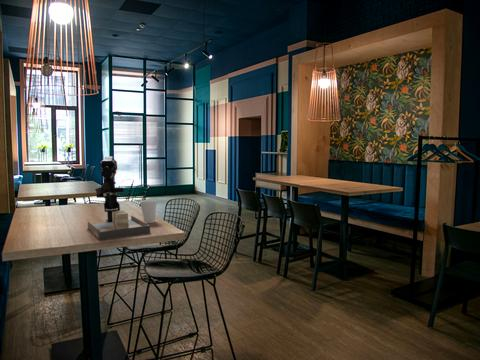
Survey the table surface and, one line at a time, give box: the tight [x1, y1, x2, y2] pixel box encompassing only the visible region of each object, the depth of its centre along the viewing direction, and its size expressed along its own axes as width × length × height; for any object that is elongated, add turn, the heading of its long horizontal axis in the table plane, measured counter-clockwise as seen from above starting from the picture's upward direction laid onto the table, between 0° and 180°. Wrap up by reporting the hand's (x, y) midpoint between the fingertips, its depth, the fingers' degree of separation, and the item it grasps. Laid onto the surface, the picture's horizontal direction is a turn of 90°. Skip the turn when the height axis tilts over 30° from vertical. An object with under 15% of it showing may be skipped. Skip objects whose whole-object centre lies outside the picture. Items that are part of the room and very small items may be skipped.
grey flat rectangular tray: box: [87, 215, 151, 241], centre depth 219 cm, size 33×26×4 cm
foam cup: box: [140, 199, 158, 224], centre depth 240 cm, size 10×9×13 cm
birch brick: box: [112, 210, 129, 230], centre depth 213 cm, size 10×6×9 cm, turn 31°
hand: (111, 207), depth 228 cm, fingers closed
